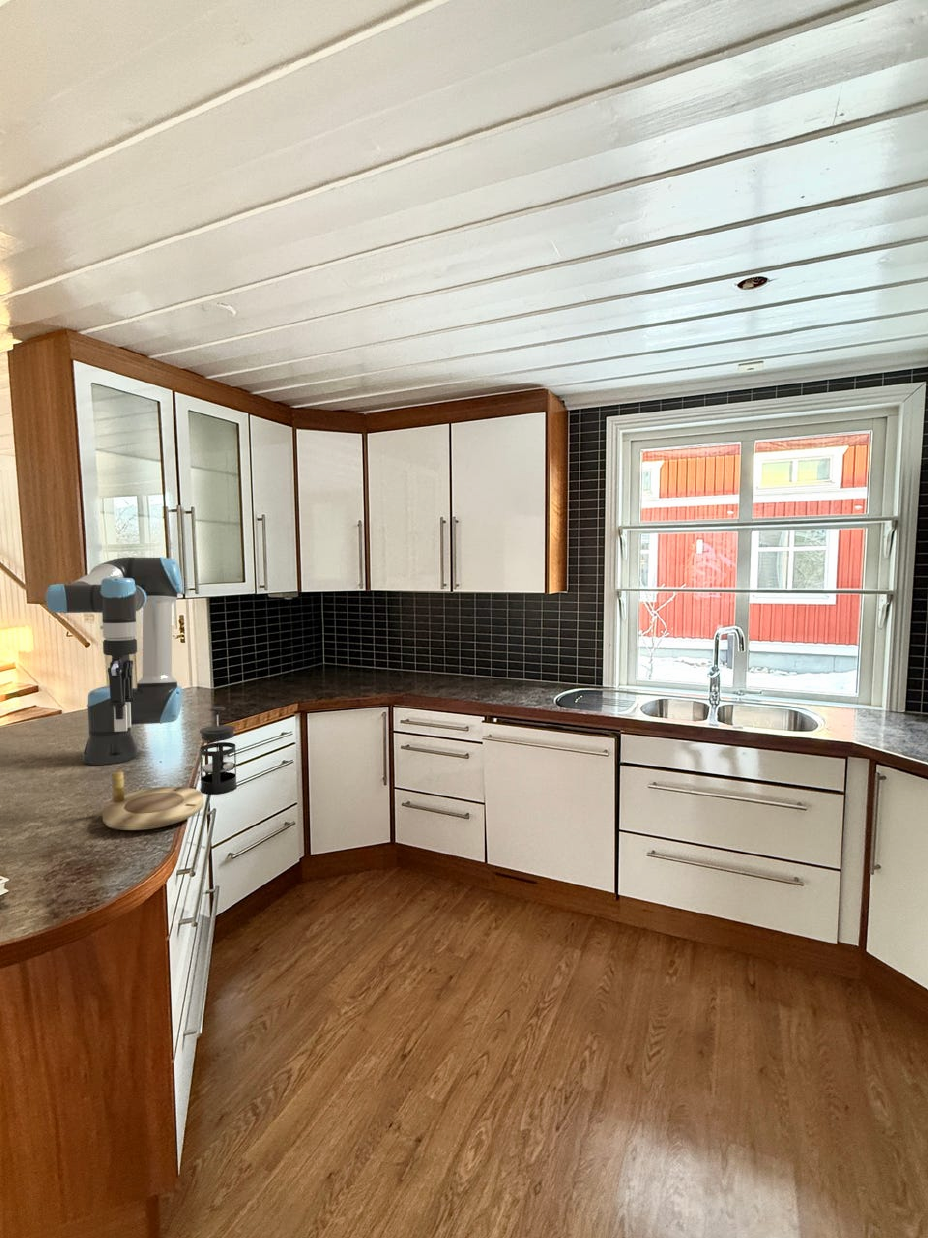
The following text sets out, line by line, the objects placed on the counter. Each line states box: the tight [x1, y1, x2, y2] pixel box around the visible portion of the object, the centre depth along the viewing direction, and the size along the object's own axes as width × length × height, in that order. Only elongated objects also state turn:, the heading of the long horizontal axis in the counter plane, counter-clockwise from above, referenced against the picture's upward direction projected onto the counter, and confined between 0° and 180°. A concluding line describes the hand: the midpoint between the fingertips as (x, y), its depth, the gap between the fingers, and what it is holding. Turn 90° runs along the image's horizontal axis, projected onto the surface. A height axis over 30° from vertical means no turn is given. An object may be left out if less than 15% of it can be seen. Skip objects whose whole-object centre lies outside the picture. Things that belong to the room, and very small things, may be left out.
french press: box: [199, 706, 238, 796], centre depth 165 cm, size 12×9×23 cm
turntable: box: [101, 770, 204, 831], centre depth 147 cm, size 22×22×9 cm
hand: (123, 729), depth 154 cm, fingers open, 3 cm apart
